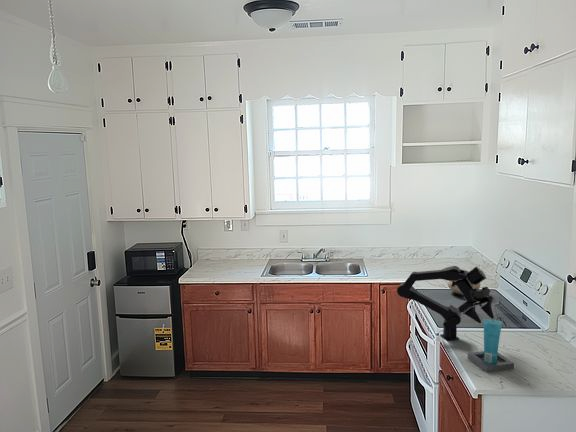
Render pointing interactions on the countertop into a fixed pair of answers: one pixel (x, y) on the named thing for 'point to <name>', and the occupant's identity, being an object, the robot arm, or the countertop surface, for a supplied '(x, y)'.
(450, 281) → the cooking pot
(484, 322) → the tube
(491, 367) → the grey square frame
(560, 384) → the countertop surface
